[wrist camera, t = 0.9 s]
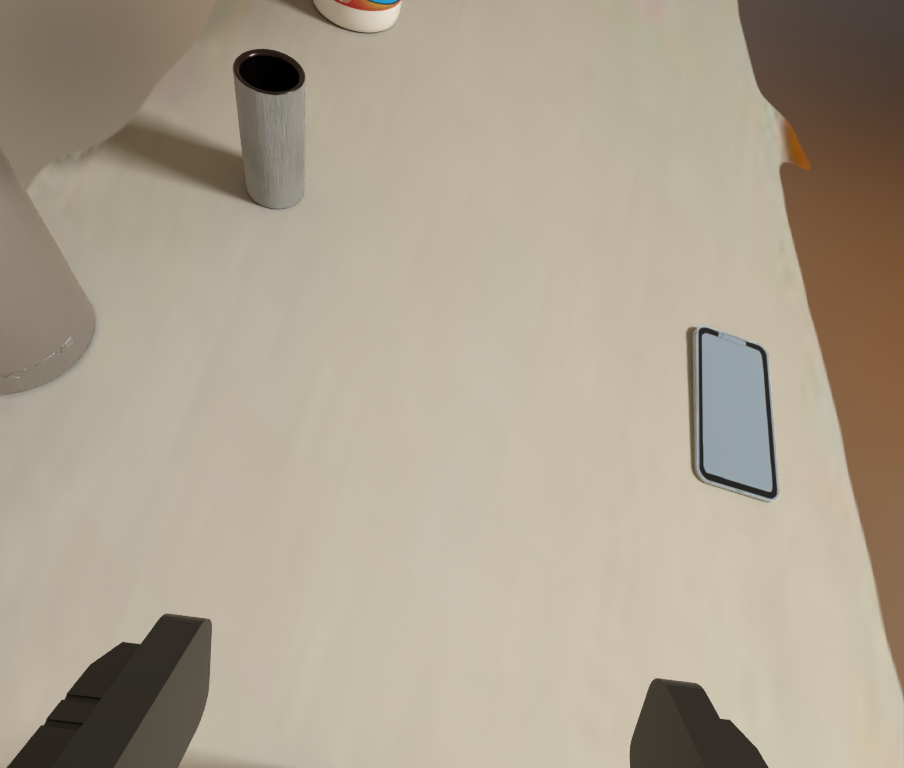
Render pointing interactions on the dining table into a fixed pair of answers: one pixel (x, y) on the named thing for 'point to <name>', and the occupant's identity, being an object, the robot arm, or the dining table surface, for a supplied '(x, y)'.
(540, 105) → the dining table surface
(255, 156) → the planter
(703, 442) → the smartphone
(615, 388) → the dining table surface
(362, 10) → the white strawberry milk bottle
